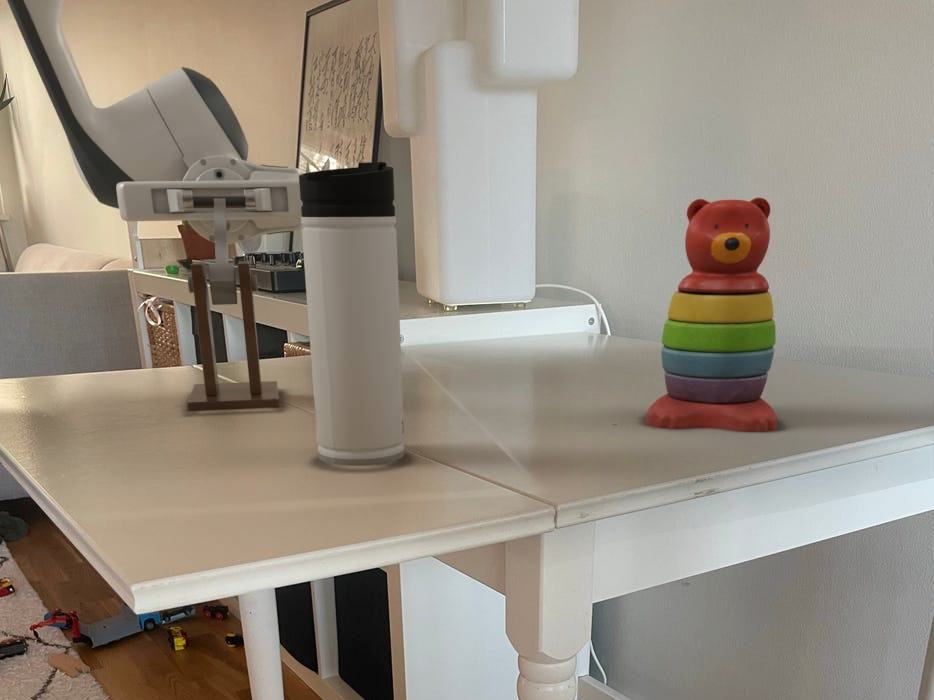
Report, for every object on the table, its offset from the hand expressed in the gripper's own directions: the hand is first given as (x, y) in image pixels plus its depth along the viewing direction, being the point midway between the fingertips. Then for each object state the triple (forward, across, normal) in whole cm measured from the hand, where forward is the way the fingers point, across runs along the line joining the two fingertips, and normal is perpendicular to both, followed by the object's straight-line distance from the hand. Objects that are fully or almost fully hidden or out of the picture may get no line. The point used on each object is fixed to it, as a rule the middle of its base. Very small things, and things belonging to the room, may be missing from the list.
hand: (219, 200), depth 94 cm
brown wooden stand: (+11, 0, +18) cm, 21 cm away
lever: (+4, 0, +5) cm, 7 cm away
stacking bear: (+28, +40, +18) cm, 52 cm away
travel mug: (+36, +9, +18) cm, 41 cm away
